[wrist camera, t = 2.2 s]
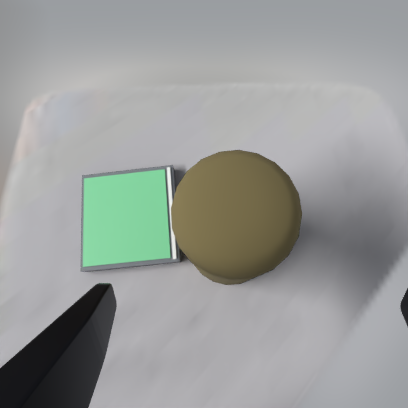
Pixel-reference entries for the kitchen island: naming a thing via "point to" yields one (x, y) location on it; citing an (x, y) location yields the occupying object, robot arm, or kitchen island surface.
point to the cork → (236, 216)
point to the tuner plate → (128, 219)
